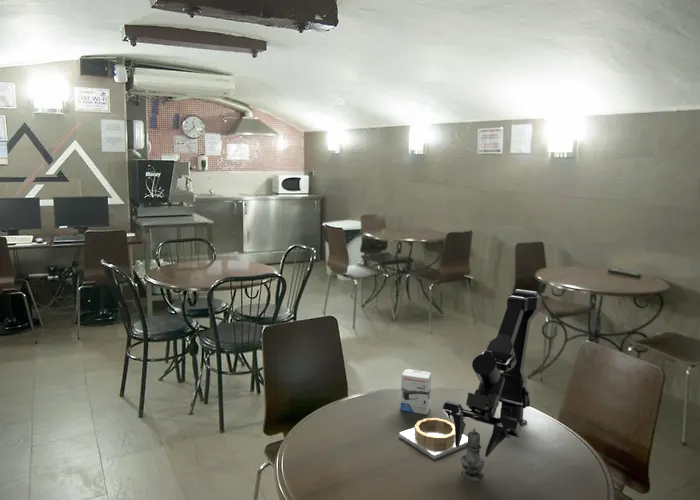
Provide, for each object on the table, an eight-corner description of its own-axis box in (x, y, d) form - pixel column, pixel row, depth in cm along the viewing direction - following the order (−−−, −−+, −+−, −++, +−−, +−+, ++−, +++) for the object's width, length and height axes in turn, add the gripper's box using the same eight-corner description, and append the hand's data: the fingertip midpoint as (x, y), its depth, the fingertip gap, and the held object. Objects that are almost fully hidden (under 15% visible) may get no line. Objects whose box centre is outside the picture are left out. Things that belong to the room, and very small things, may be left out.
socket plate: (435, 423, 160) (436, 411, 160) (472, 443, 149) (472, 431, 148) (398, 436, 152) (399, 424, 152) (434, 459, 141) (434, 446, 140)
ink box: (399, 411, 168) (400, 374, 166) (403, 404, 172) (404, 368, 170) (427, 415, 165) (428, 378, 163) (430, 408, 170) (431, 371, 168)
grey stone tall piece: (485, 482, 131) (487, 435, 129) (460, 479, 132) (462, 433, 130) (483, 468, 137) (486, 424, 135) (459, 466, 138) (461, 421, 136)
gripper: (446, 370, 139) (426, 428, 132) (520, 387, 129) (503, 451, 122) (457, 388, 147) (438, 445, 140) (527, 406, 137) (512, 467, 130)
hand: (471, 451), depth 132 cm, fingers open, 7 cm apart
